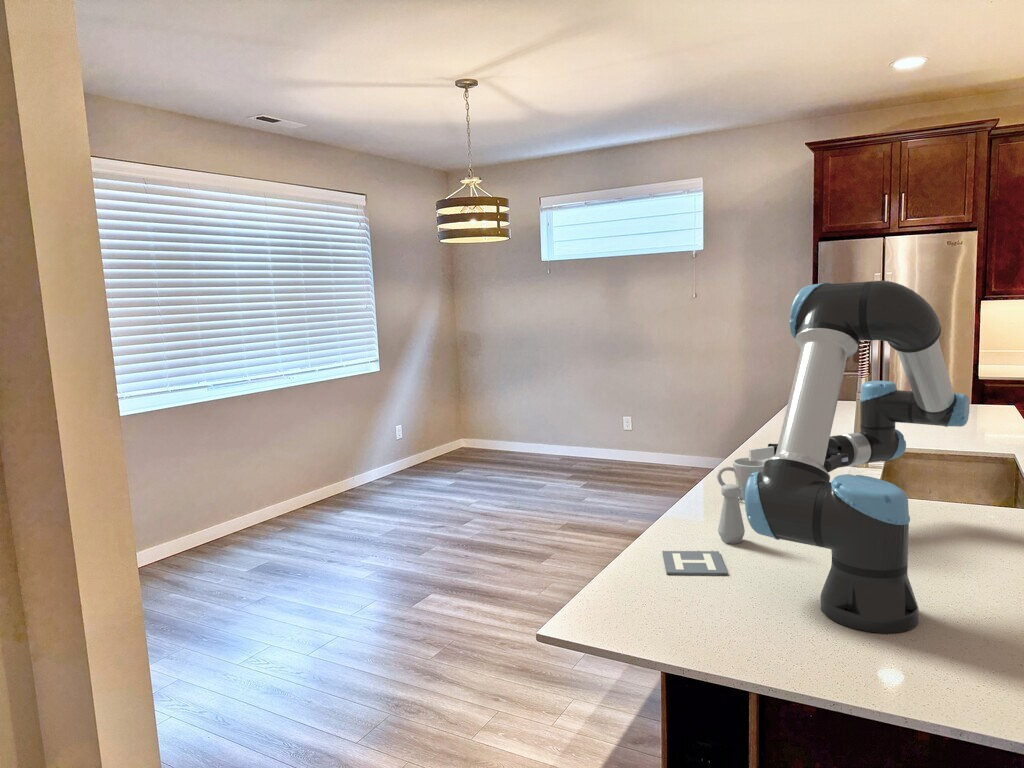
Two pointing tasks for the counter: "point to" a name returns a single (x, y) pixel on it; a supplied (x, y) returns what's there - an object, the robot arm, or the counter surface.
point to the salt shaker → (731, 515)
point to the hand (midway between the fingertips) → (768, 461)
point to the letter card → (694, 563)
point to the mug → (742, 472)
